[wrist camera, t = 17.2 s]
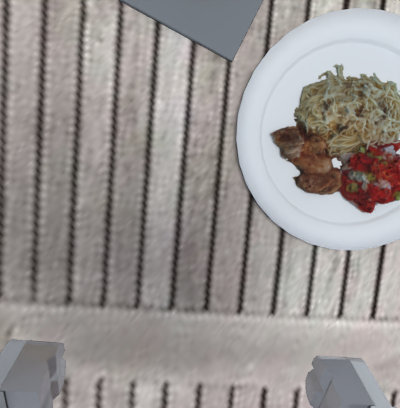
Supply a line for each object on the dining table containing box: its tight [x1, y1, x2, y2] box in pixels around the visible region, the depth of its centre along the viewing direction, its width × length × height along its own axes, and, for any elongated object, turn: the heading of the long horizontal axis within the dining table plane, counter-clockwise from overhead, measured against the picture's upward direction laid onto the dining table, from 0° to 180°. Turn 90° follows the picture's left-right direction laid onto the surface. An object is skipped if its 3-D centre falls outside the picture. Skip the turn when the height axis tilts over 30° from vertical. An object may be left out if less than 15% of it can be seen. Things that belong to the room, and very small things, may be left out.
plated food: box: [236, 8, 400, 250], centre depth 39 cm, size 30×30×3 cm
